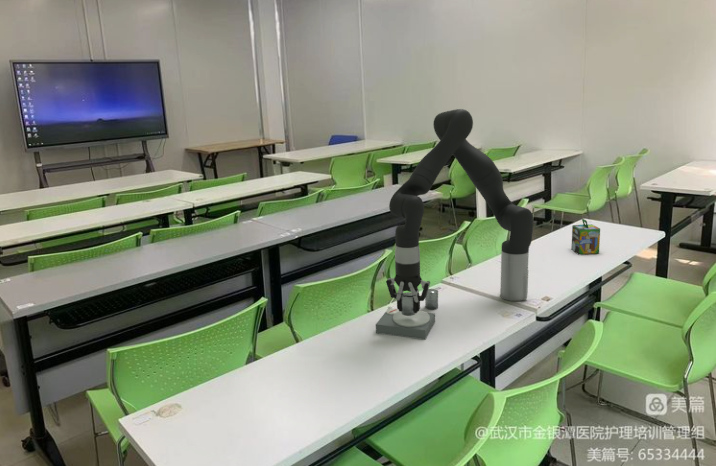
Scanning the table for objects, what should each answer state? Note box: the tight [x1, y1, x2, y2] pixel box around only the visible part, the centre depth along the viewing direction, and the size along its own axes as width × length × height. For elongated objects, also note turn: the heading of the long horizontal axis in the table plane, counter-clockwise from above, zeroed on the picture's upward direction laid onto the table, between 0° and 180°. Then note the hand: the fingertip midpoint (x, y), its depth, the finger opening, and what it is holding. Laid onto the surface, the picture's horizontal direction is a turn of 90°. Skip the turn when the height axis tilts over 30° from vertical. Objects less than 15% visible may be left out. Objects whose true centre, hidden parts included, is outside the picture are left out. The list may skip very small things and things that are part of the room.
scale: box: [375, 307, 436, 340], centre depth 170 cm, size 16×13×4 cm
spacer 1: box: [401, 291, 416, 316], centre depth 164 cm, size 4×4×6 cm
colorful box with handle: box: [570, 218, 601, 255], centre depth 235 cm, size 9×9×15 cm
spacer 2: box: [424, 288, 439, 311], centre depth 184 cm, size 4×4×6 cm
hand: (408, 311), depth 165 cm, fingers closed on spacer 1, 4 cm apart
